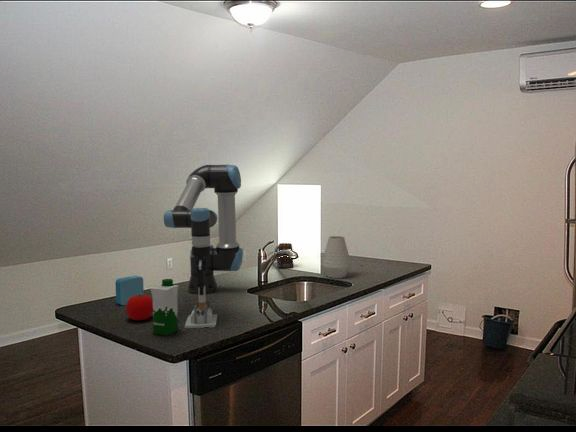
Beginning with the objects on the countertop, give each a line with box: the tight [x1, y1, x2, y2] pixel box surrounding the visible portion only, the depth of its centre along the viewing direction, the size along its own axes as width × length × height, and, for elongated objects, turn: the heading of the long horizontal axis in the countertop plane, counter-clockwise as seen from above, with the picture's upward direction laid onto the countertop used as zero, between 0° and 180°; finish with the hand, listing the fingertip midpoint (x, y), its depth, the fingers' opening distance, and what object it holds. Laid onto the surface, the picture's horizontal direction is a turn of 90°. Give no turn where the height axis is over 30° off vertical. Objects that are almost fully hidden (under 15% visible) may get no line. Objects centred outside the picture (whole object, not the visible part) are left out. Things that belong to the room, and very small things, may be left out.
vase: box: [320, 235, 352, 279], centre depth 285 cm, size 18×17×23 cm
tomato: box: [125, 294, 153, 321], centre depth 205 cm, size 11×12×10 cm
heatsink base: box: [184, 300, 218, 329], centre depth 201 cm, size 14×12×8 cm
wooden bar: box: [197, 301, 206, 313], centre depth 201 cm, size 11×3×2 cm, turn 5°
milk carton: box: [149, 278, 179, 337], centre depth 188 cm, size 9×9×20 cm
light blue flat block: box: [115, 275, 145, 306], centre depth 230 cm, size 12×4×12 cm, turn 139°
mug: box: [274, 242, 294, 270], centre depth 309 cm, size 16×11×15 cm
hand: (202, 301), depth 204 cm, fingers closed
